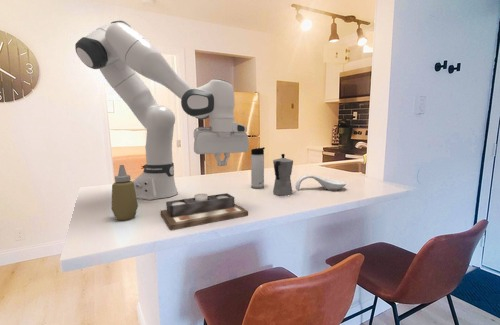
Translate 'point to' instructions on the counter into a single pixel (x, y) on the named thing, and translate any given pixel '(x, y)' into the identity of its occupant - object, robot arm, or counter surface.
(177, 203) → the button left
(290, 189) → the coffeepot
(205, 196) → the button middle
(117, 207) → the squeeze bottle
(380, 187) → the counter surface
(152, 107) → the robot arm
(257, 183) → the travel mug
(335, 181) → the spoon rest
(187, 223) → the button board
